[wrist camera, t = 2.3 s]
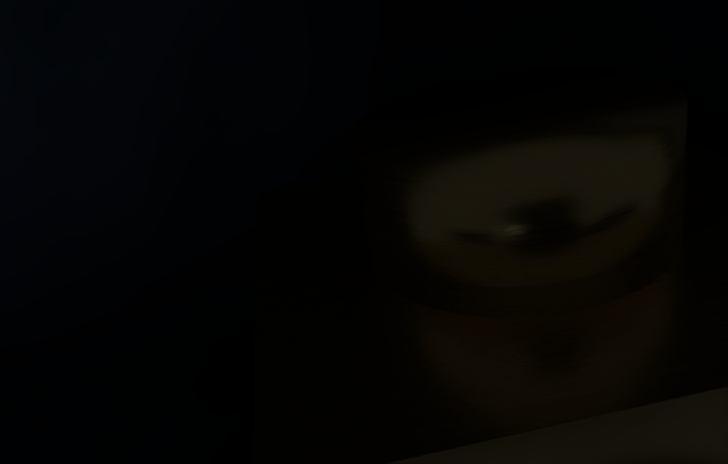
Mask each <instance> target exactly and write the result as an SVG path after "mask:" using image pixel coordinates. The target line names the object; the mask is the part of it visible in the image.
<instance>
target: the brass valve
mask: <svg viewBox="0 0 728 464" xmlns="http://www.w3.org/2000/svg"><path fill="white" fill-rule="evenodd" d="M687 109H688V103H687V99H686V96H685V95H684V94H683V92H682V91H681V90H680V89H678V88H677V87H675V86H674V85H672V84H670V83H668V82H666V81H664V80H661V79H658V78H655V77H652V76H647V75H643V74H639V73H633V72H627V71H619V70H609V69H594V68H550V69H533V70H522V71H512V72H504V73H496V74H490V75H483V76H477V77H472V78H466V79H462V80H457V81H452V82H448V83H444V84H440V85H436V86H432V87H429V88H426V89H422V90H419V91H416V92H413V93H410V94H407V95H404V96H402V97H399V98H397V99H394V100H392V101H390V102H388V103H386V104H383V105H381V106H379V107H378V108H376V109H374V110H372V111H371V112H369V113H368V114H366V115H365V116H364V117H362V118H361V119H360V120H359V121H358V122H357V123H356V124H355V126H354V127H353V129H352V130H351V133H350V143H351V148H352V154H353V159H354V165H355V170H356V174H352V175H347V176H342V177H337V178H332V179H327V180H322V181H317V182H313V183H308V184H303V185H298V186H293V187H288V188H283V189H278V190H273V191H268V192H263V193H258V231H257V273H256V315H255V357H254V399H253V440H252V464H728V160H727V159H725V158H723V157H721V156H719V155H717V154H715V153H713V152H711V151H709V150H707V149H705V148H703V147H701V146H699V145H697V144H695V143H694V142H692V141H690V140H688V139H686V135H687Z"/></svg>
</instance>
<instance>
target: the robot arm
mask: <svg viewBox="0 0 728 464" xmlns="http://www.w3.org/2000/svg"><path fill="white" fill-rule="evenodd" d="M253 399H254V398H253ZM252 440H253V400H252V401H251V403H250V404H249V406H248V408H247V409H246V411H245V412H244V414H243V415H242V417H241V418H240V420H239V422H238V423H237V425H236V426H235V428H234V429H233V431H232V432H231V434H230V436H229V437H228V439H227V440H226V442H225V443H224V445H223V446H222V448H221V450H220V451H219V453H218V454H217V456H216V457H215V459H214V460H213V462H212V463H211V464H252Z"/></svg>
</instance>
